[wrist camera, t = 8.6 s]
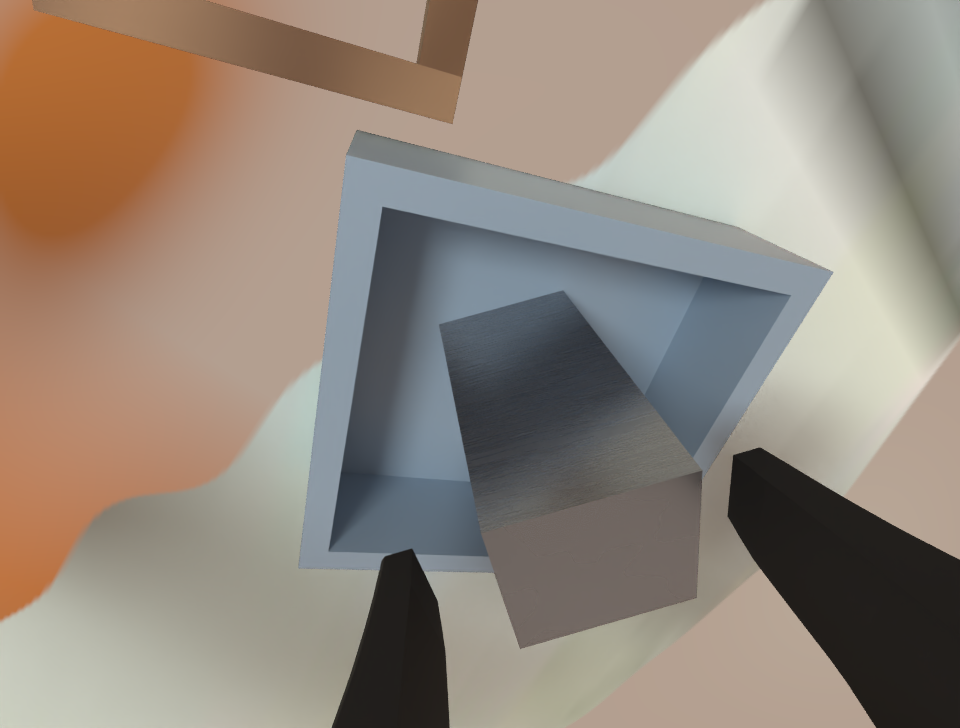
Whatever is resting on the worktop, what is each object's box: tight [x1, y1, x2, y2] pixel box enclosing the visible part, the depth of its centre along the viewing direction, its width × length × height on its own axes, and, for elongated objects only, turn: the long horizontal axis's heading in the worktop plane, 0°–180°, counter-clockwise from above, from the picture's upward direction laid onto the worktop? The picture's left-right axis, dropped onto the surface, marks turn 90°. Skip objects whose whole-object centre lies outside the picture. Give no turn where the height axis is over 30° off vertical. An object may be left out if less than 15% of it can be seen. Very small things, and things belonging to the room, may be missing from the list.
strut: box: [439, 290, 702, 649], centre depth 13 cm, size 4×4×8 cm
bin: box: [298, 130, 833, 573], centre depth 15 cm, size 12×12×4 cm
